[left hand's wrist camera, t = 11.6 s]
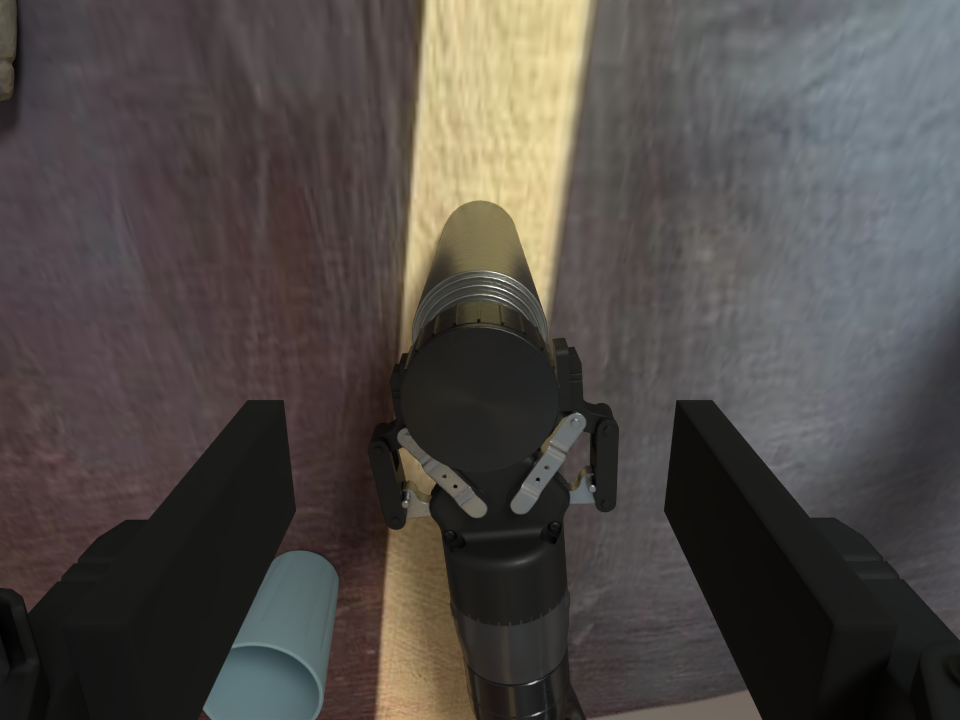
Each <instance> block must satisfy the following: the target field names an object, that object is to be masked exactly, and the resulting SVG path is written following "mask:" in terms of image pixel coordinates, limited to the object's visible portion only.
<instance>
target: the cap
mask: <svg viewBox="0 0 960 720" xmlns="http://www.w3.org/2000/svg"><path fill="white" fill-rule="evenodd" d="M554 369H556V368H555V365H554V361H553V358H552V355H551V352H550V348H549V345H548V344H546V343H545V341H544V339H543V337H542V335H541V334H540V332H539V328H538V327H537V326H536V327H535V326H534V325H533V324H532V323H531V322H530V321H529V320H528V319H527V318H526V317H524V316H523V313H522V312H520V313H518V312H517V311H515V310H513V309H511V308H509V307H506V306H503V304H502V303H500V304H496V303H490V302H480V300H477V302H469V303H464V304H460V305H458V304H455V306H454V307H451V308H449V309H447V310H445V311H443V312H441V313H440V314H438V313H437V314H436V315H435V317H434V318H433V319H432V320H431V321H430V322H429V323H428V324H427V325H426V326H425V327H424V328H421V329H420V332H419V335H418V337H417V339H416V341H415V343H414V345H413V346H411V348H410V351H409V354H408V357H407V361H406V364H405V367H404V370H403V371H405V374H404V378H403V381H402V384H401V388H400V405H401V412H402V416H403V420H404V423H405V425H406V427H407V430H408V432H409V433H410V435H411V437H412V438H413V440H414V441H415V442H416V443H417V445H418V446H419V447H420V448H421V449H422V450H423V451H424V452H425V453H426V454H428V455H429V456H430V457H432V458H433V459H435V460H436V461H438V462H440V463H442V464H444V465H446V466H449V467H451V468H454V469H458V470H461V471H467V472H480V473H482V472H493V471H498V470H502V469H506V468H509V467H511V466H514V465H516V464H518V463H520V462H522V461H523V460H525V459H527V458H528V457H530V456H531V455H532V454H533V453H535V452H536V451H537V450H538V449H539V448H540V447H541V446H542V445H543V443H544V442H545V441H546V439H547V438H548V437H549V435H550V433H551V431H552V430H553V427H554V425H555V422H556V420H557V416H558V412H559V403H560V397H559V391H560V387H559V383H558V380H557V377H556V373H555V370H554Z"/></svg>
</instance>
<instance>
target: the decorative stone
mask: <svg viewBox="0 0 960 720" xmlns="http://www.w3.org/2000/svg"><path fill="white" fill-rule="evenodd" d="M16 47H17V4H16V0H0V101H3V100H8V99H10V98H11V97H12V95H13V90H14V69H13V66H12V62H13V61H14V59H15V57H16Z"/></svg>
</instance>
